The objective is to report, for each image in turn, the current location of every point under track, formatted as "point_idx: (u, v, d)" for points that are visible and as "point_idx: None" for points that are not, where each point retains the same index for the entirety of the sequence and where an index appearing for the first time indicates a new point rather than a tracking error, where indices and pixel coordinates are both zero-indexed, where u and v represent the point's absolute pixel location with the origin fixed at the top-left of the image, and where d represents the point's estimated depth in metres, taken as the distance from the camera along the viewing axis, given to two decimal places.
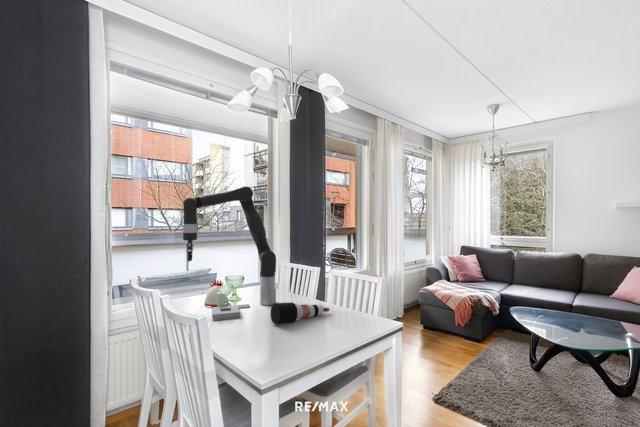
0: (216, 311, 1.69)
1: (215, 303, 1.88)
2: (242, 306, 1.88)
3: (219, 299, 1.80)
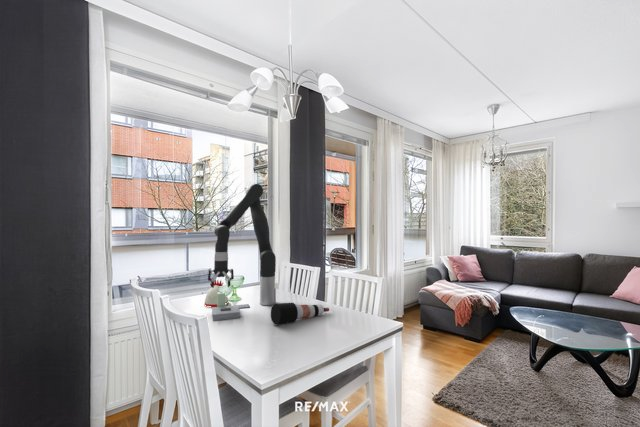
0: (216, 311, 1.69)
1: (215, 303, 1.88)
2: (242, 306, 1.88)
3: (219, 299, 1.80)
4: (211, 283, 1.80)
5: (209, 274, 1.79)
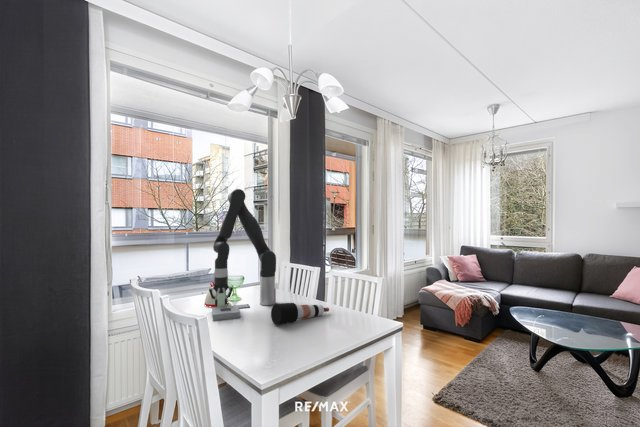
0: (216, 311, 1.69)
1: None
2: (242, 306, 1.88)
3: (219, 299, 1.80)
4: (215, 301, 1.81)
5: (211, 293, 1.79)
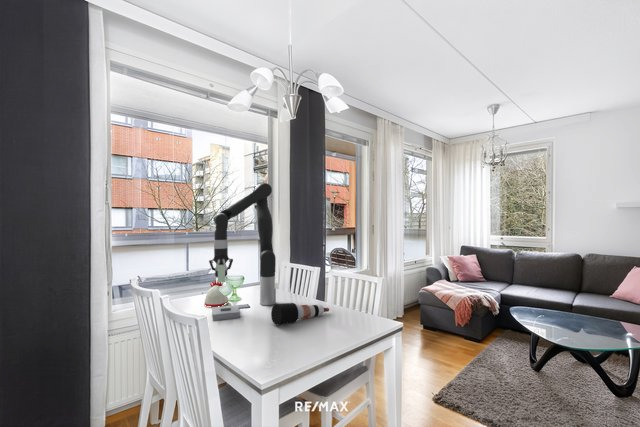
0: (216, 311, 1.69)
1: (215, 303, 1.88)
2: (242, 306, 1.88)
3: (219, 270, 1.80)
4: (215, 272, 1.81)
5: (211, 264, 1.79)
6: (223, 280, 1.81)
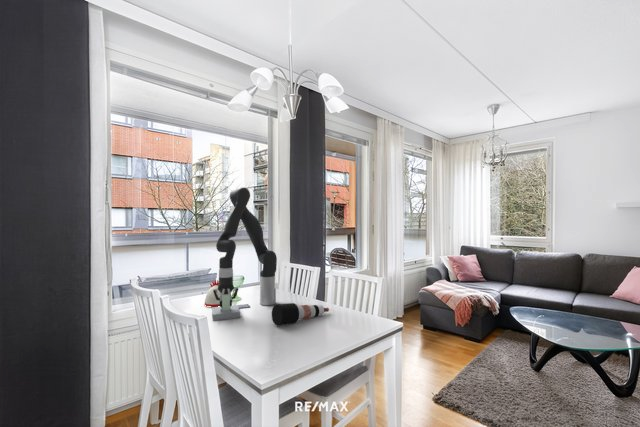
0: (216, 311, 1.69)
1: (215, 303, 1.88)
2: (242, 306, 1.88)
3: (224, 300, 1.71)
4: None
5: (215, 294, 1.70)
6: None
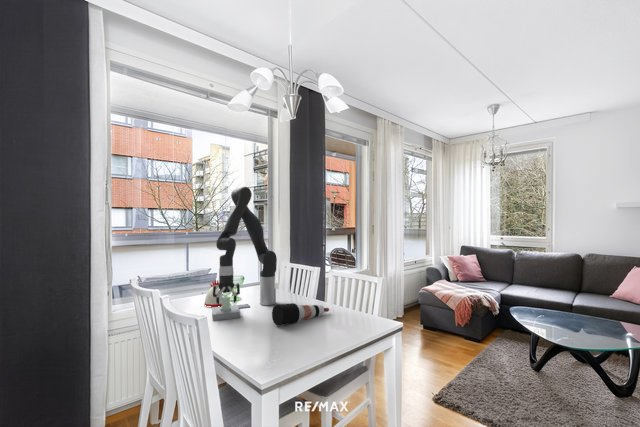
0: (216, 311, 1.69)
1: (215, 303, 1.88)
2: (242, 306, 1.88)
3: (224, 303, 1.71)
4: (216, 299, 1.70)
5: (214, 290, 1.69)
6: None
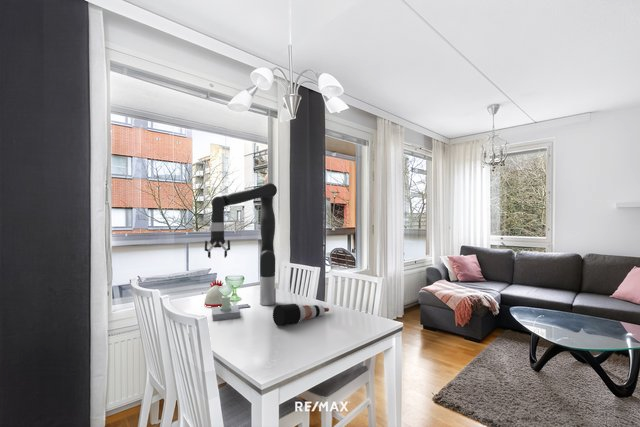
0: (216, 311, 1.69)
1: (215, 303, 1.88)
2: (242, 306, 1.88)
3: (224, 303, 1.71)
4: (208, 253, 1.81)
5: (206, 244, 1.81)
6: None
